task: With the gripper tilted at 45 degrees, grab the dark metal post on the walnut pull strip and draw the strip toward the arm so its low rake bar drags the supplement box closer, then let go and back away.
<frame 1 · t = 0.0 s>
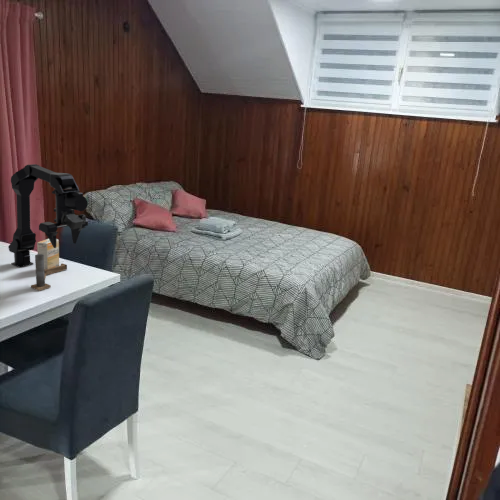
hand: (64, 245, 186), 15 cm above the table, tool pointing down, fingers open, 9 cm apart
supplement box: (49, 270, 200), on the table
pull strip: (51, 263, 188), point 7 cm above the table, slide at 0.0 cm
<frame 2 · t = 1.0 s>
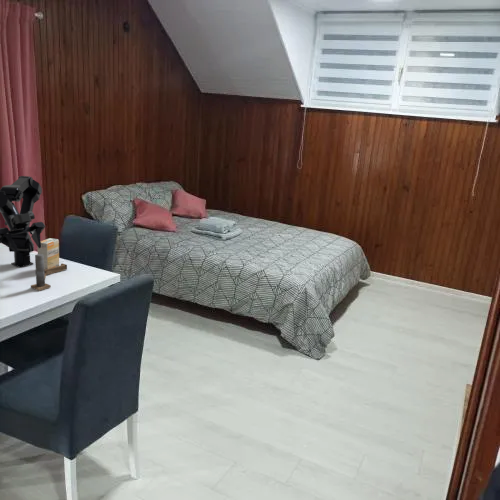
hand: (29, 249, 181), 13 cm above the table, tool tilted 45°, fingers open, 9 cm apart
nothing on the table moved.
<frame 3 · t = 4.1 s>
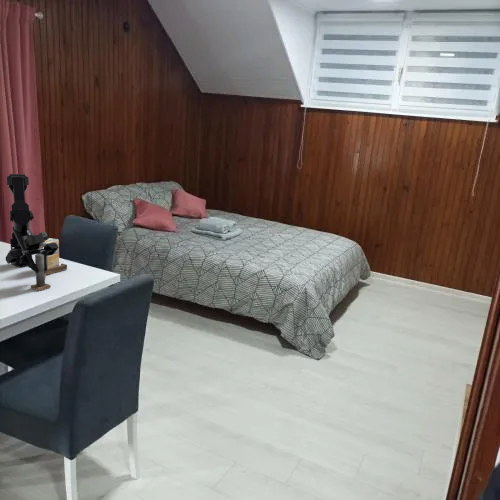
hand: (42, 271, 178), 7 cm above the table, tool tilted 45°, fingers closed on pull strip, 3 cm apart
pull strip: (51, 263, 188), point 7 cm above the table, slide at 0.0 cm, touching gripper
everything else where it was.
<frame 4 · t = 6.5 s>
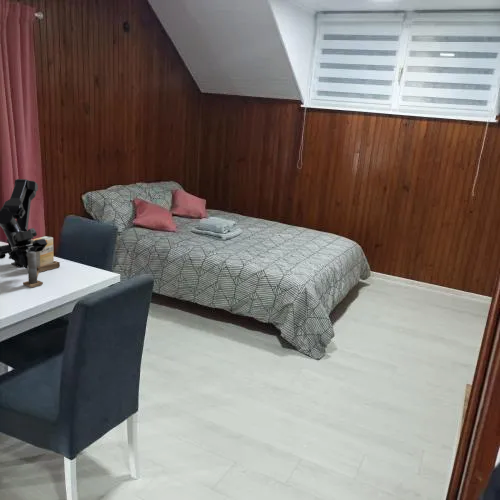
hand: (30, 267, 181), 7 cm above the table, tool tilted 45°, fingers closed on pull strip, 3 cm apart
supplement box: (43, 268, 202), on the table, touching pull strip
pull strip: (43, 260, 191), point 7 cm above the table, slide at 4.7 cm, touching gripper, supplement box
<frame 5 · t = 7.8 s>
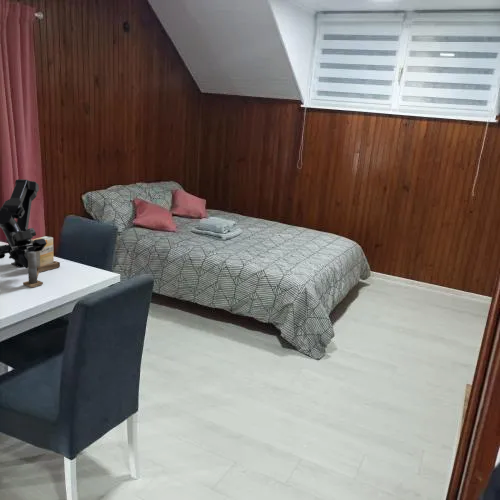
hand: (30, 266, 181), 7 cm above the table, tool tilted 45°, fingers closed
supplement box: (43, 268, 202), on the table
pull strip: (43, 260, 191), point 7 cm above the table, slide at 4.6 cm, touching gripper
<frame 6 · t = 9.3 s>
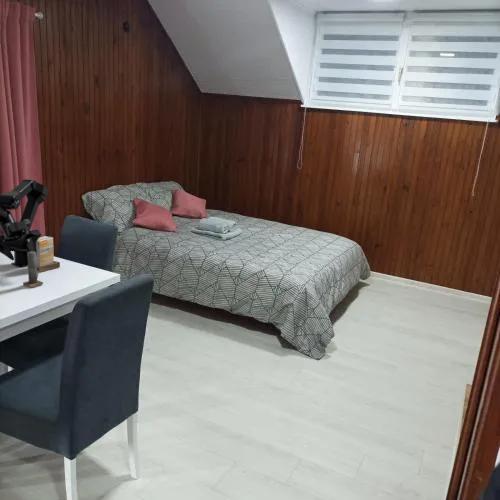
hand: (24, 257, 183), 10 cm above the table, tool tilted 45°, fingers open, 9 cm apart
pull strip: (43, 260, 191), point 7 cm above the table, slide at 4.6 cm
everything else where it was.
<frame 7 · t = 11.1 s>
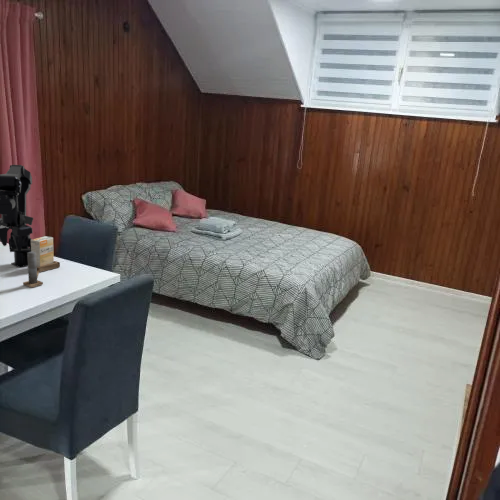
hand: (12, 248, 183), 13 cm above the table, tool pointing down, fingers open, 9 cm apart
nothing on the table moved.
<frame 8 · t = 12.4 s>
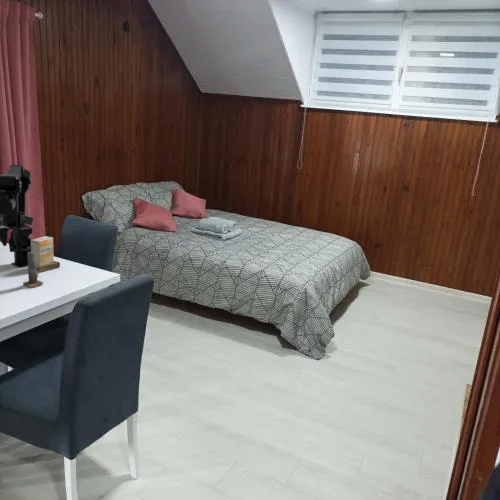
hand: (12, 248, 183), 13 cm above the table, tool pointing down, fingers open, 9 cm apart
nothing on the table moved.
at the end: supplement box inside the target area (2.5 cm from its centre), on the table; supplement box tilted 0°; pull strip slide at 4.6 cm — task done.
